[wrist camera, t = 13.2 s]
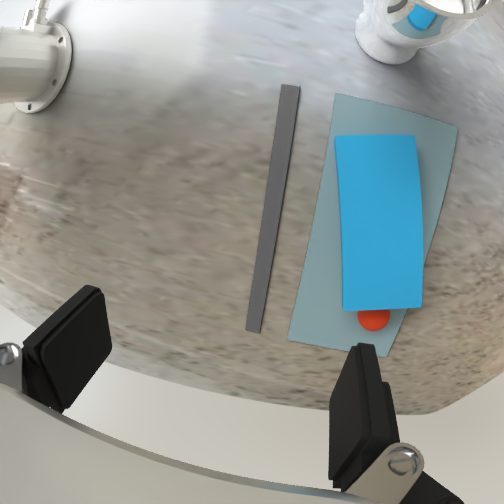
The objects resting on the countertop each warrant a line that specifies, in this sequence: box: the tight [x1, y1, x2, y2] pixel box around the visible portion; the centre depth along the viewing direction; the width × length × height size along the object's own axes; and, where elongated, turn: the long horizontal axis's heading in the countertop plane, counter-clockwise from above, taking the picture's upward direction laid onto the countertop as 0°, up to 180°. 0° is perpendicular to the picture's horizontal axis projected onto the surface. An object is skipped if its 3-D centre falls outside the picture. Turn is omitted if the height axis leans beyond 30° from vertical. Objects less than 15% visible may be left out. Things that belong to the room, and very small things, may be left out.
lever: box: [334, 135, 423, 331], centre depth 28 cm, size 7×7×18 cm
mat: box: [287, 93, 458, 357], centre depth 29 cm, size 26×12×1 cm, turn 172°
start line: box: [245, 84, 300, 333], centre depth 31 cm, size 26×2×1 cm, turn 172°
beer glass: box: [355, 0, 493, 64], centre depth 15 cm, size 7×7×15 cm
